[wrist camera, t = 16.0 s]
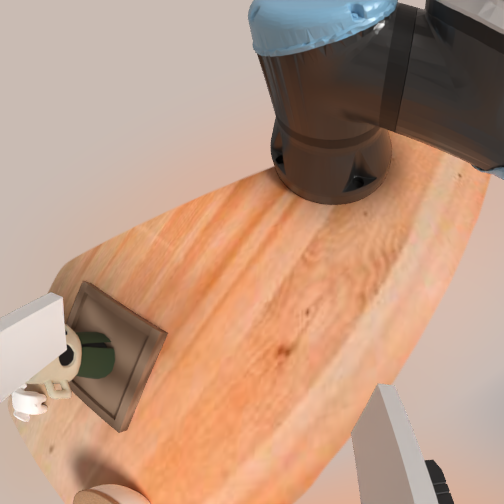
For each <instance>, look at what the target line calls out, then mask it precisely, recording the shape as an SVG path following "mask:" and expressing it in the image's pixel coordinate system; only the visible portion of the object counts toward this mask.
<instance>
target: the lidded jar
mask: <svg viewBox="0 0 504 504" xmlns="http://www.w3.org/2000/svg"><path fill="white" fill-rule="evenodd" d="M73 504H151V503H150V502H149V501H148V499H147V498H146V497H145V496H143V495H142V494H141V493H139V492H137V491H135V490H132V489H130V488H128V487H125V486H121V485H116V484H105V485H99V486H95V487H92V488H89V489H85V490H82V491H79V492H78V493H77V494H76V495H75V497H74V500H73Z"/></svg>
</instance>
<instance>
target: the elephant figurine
mask: <svg viewBox="0 0 504 504" xmlns="http://www.w3.org/2000/svg"><path fill="white" fill-rule="evenodd" d="M26 387H27V384H26V383H24V384H23V385H22V386H21V387H19V388H18V389H17V390H16V391H14V392H13V393H12V404H13V408H14V410H15V411H14V413H13V414H14V416H15V417H16V418H18V419H20V420H22V421H25V422H28V421H29V420H30V416H29V414H33V415H36V414H42V413H45V412H47V406H46V405H41V404H42V402H45V401H46V400H47V398H46V396H45V395H44V394H39V393H38V392H34V391H24V389H25V388H26Z"/></svg>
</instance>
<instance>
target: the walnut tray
mask: <svg viewBox="0 0 504 504" xmlns="http://www.w3.org/2000/svg"><path fill="white" fill-rule="evenodd" d="M66 325H68V326H69V327H70V328H71V329H72V330H73V331H74V332H99V333H102V334H105V335H106V336H107V337H108V338H109V339H110V341H111V342H104V343H105V345H106V346H107V348H113V349H114V351H115V363H114V367H113V370H112V372H110V373H109V374H108V375H107V376H106V377H105V378H100V379H91V378H84V377H79V376H75V377H74V378H73V379H72V380H71V381H70V382H68V383H69V386H70V388H71V390H72V391H73V392H74V393H75V394H76V395H77V396H78V397H79V398H80V399H81V400H82V401H83V402H84V403H85V404H86V405H87V406H88V407H90V408H91V409H92V410H93V411H94V412H95V413H96V414H97V415H98V416H100V417H101V418H102V419H103V420H104V421H105V422H107V423H108V424H109V425H110V426H111V427H113V428H114V429H115V430H116V431H117V432H119V433H120V432H123V431H126V430H127V429H128V427H129V424H130V422H131V419H132V417H133V414H134V412H135V409H136V407H137V404H138V402H139V399H140V397H141V395H142V392H143V390H144V387H145V385H146V383H147V380H148V378H149V376H150V373H151V371H152V368H153V366H154V364H155V362H156V359H157V357H158V355H159V352H160V350H161V348H162V345H163V343H164V341H165V339H166V336H167V334H168V333H167V332H165V331H163V330H162V329H160V328H158V327H157V326H155V325H153V324H152V323H150V322H149V321H147V320H145V319H144V318H142V317H141V316H139V315H137V314H136V313H134V312H133V311H131V310H130V309H128V308H127V307H125V306H123V305H122V304H120V303H119V302H117V301H116V300H114V299H113V298H112V297H110V296H109V295H107V294H106V293H104V292H103V291H101V290H100V289H98V288H97V287H96V286H94V285H93V284H91V283H88V282H85V281H83V283H82V285H81V287H80V290H79V292H78V295H77V297H76V300H75V302H74V305H73V307H72V310H71V313H70V315H69V318H68V321H67V323H66Z"/></svg>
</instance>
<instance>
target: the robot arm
mask: <svg viewBox="0 0 504 504" xmlns="http://www.w3.org/2000/svg"><path fill="white" fill-rule="evenodd" d="M248 20H249V25H250V29H251V34H252V39H253V48H254V50H255V52H256V53H257V55H258V58H259V61H260V64H261V67H262V71H263V74H264V77H265V80H266V84H267V87H268V91H269V94H270V97H271V101H272V104H273V108H274V111H275V114H276V119H275V123H274V128H273V133H272V138H271V155H272V159H273V162H274V166H275V169H276V171H277V173H278V175H279V177H280V179H281V180H282V181H283V183H284V184H285V185H286V186H287V187H288V188H289V189H290V190H292V191H293V192H294V193H296V194H297V195H299V196H301V197H303V198H305V199H307V200H310V201H313V202H317V203H321V204H330V205H338V204H347V203H351V202H355V201H358V200H360V199H363V198H365V197H367V196H368V195H370V194H371V193H373V192H374V191H375V190H376V189H377V188H378V187H379V186H380V185H381V184H382V182H383V181H384V179H385V177H386V175H387V172H388V169H389V165H390V162H391V156H392V146H391V140H390V137H389V133H388V130H390V131H393V132H395V133H398V134H401V135H404V136H406V137H409V138H412V139H414V140H417V141H420V142H422V143H425V144H427V145H430V146H432V147H434V148H437V149H439V150H442V151H444V152H446V153H449V154H451V155H453V156H455V157H457V158H460V159H462V160H464V161H466V162H468V163H470V164H471V165H472V166H473V167H474V168H475V169H477V170H479V171H481V172H485V173H488V174H493V175H495V176H497V177H499V178H501V179H503V180H504V0H426V6H425V9H424V10H423V9H420V8H416V7H413V6H409V5H406V4H402V3H398V0H254V1H253V2H252V4H251V6H250V9H249V13H248ZM66 350H67V345H66V336H65V325H64V311H63V297H61V296H59V295H57V294H54V293H52V292H50V293H48V294H46V295H44V296H42V297H40V298H38V299H36V300H34V301H32V302H30V303H28V304H26V305H24V306H22V307H21V308H19V309H17V310H15V311H13V312H11V313H9V314H7V315H5V316H3V317H1V318H0V403H1V402H2V401H3V400H5V399H6V398H7V397H8V396H9V395H11V394H12V393H13V392H14V391H16V390H17V389H18V388H19V387H21V386H22V385H23V384H24V383H25V382H27V381H28V380H29V379H30V378H32V377H33V376H34V375H35V374H37V373H38V372H39V371H40V370H42V369H43V368H44V367H46V366H47V365H48V364H49V363H51V362H52V361H53V360H54V359H56V358H57V357H58V356H60V355H61V354H62V353H63V352H65V351H66ZM351 436H352V442H353V448H354V454H355V461H356V468H357V475H358V483H359V491H360V499H361V504H454V502H453V499H452V496H451V493H449V488H448V485H447V484H446V480H445V477H444V474H443V472H442V470H441V468H440V467H439V466H438V465H437V464H436V463H435V461H434V460H424V458H423V456H422V453H421V450H420V447H419V445H418V442H417V439H416V437H415V434H414V432H413V429H412V426H411V424H410V421H409V419H408V417H407V414H406V411H405V409H404V407H403V404H402V402H401V399H400V397H399V394H398V392H397V390H396V387H395V385H386V384H377V386H376V388H375V390H374V392H373V394H372V395H371V397H370V399H369V401H368V403H367V405H366V407H365V409H364V410H363V412H362V414H361V416H360V418H359V419H358V421H357V423H356V425H355V426H354V428H353V430H352V432H351Z"/></svg>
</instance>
